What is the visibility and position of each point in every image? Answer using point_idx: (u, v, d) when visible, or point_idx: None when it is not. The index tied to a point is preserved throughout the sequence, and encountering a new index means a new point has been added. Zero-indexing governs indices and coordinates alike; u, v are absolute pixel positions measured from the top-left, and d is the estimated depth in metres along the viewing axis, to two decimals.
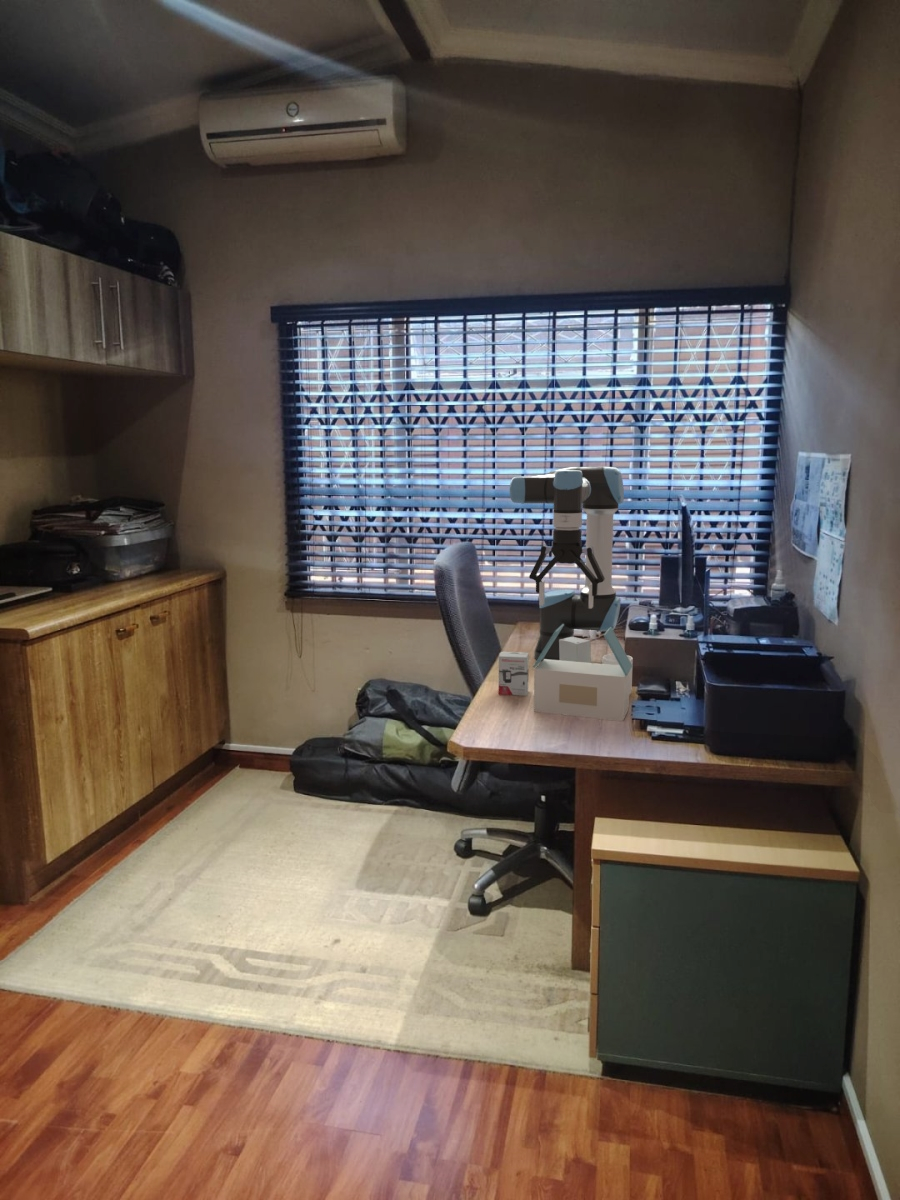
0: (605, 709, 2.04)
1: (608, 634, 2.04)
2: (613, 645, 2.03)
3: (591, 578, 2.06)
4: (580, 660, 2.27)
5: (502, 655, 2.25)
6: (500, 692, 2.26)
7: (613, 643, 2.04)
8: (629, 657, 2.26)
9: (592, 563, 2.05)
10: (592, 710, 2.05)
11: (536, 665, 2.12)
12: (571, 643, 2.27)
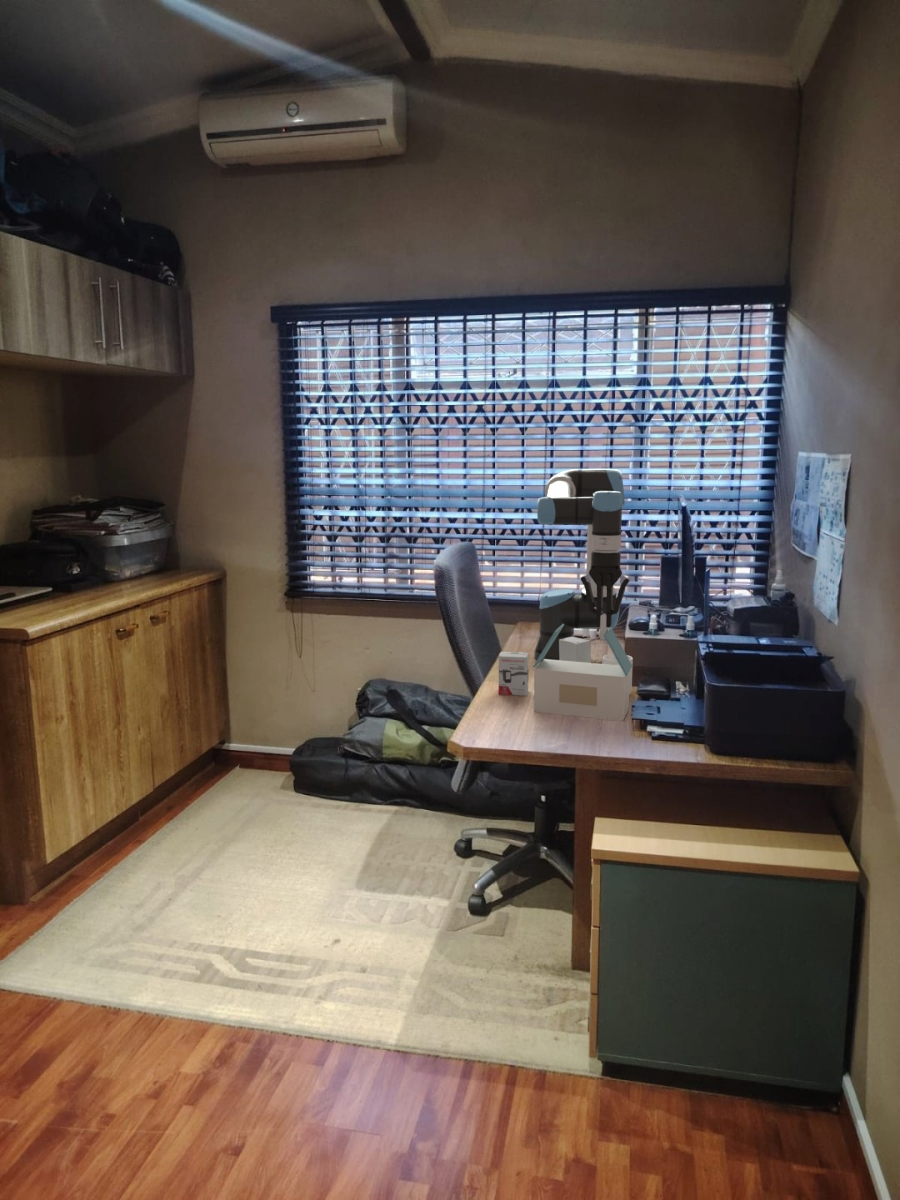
0: (605, 709, 2.04)
1: (608, 634, 2.04)
2: (613, 645, 2.03)
3: (608, 609, 2.03)
4: (580, 660, 2.27)
5: (502, 655, 2.25)
6: (500, 692, 2.26)
7: (613, 643, 2.04)
8: (629, 657, 2.26)
9: (619, 593, 2.01)
10: (592, 710, 2.05)
11: (536, 665, 2.12)
12: (571, 643, 2.27)
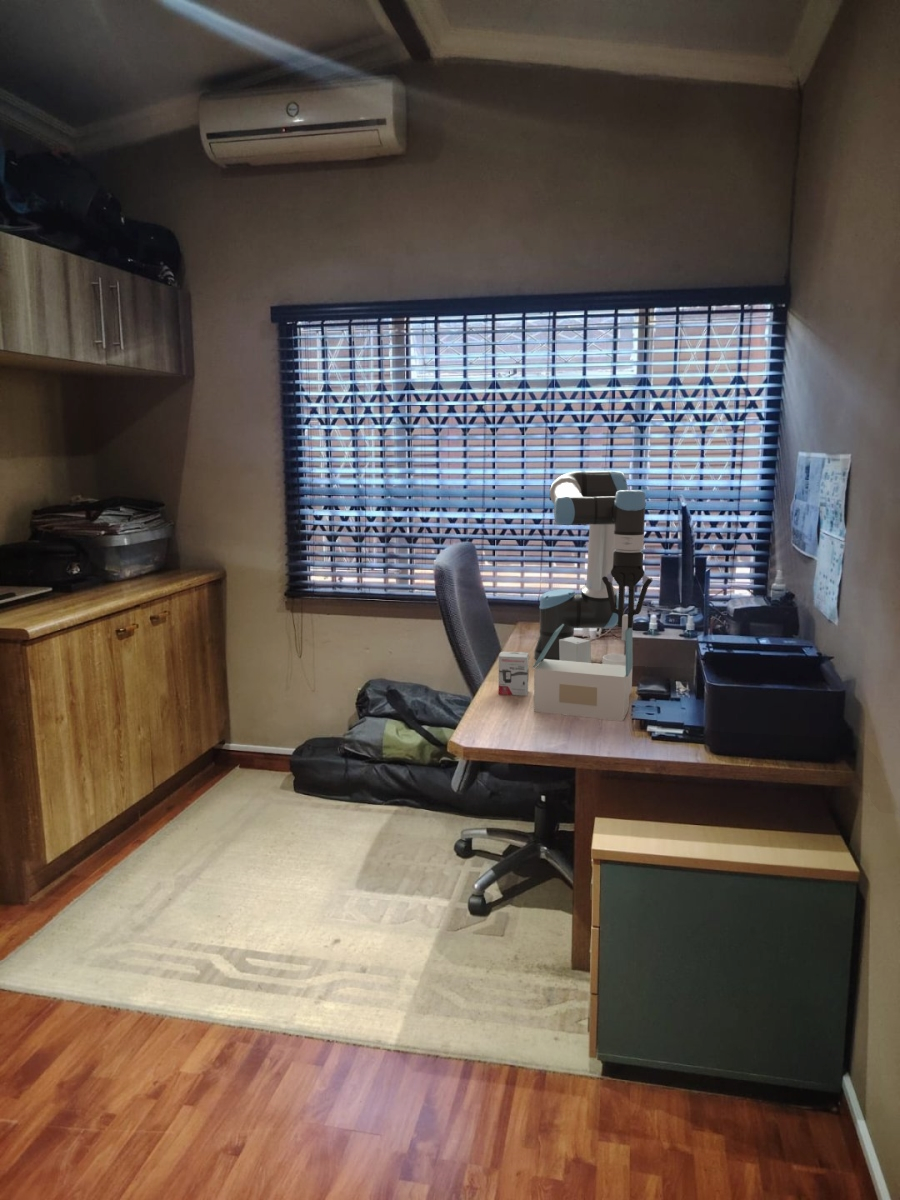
0: (605, 709, 2.04)
1: (629, 631, 2.02)
2: (628, 643, 2.01)
3: (630, 609, 2.01)
4: (580, 660, 2.27)
5: (502, 655, 2.25)
6: (500, 692, 2.26)
7: (629, 641, 2.02)
8: None
9: (642, 593, 1.99)
10: (592, 710, 2.05)
11: (536, 665, 2.12)
12: (571, 643, 2.27)
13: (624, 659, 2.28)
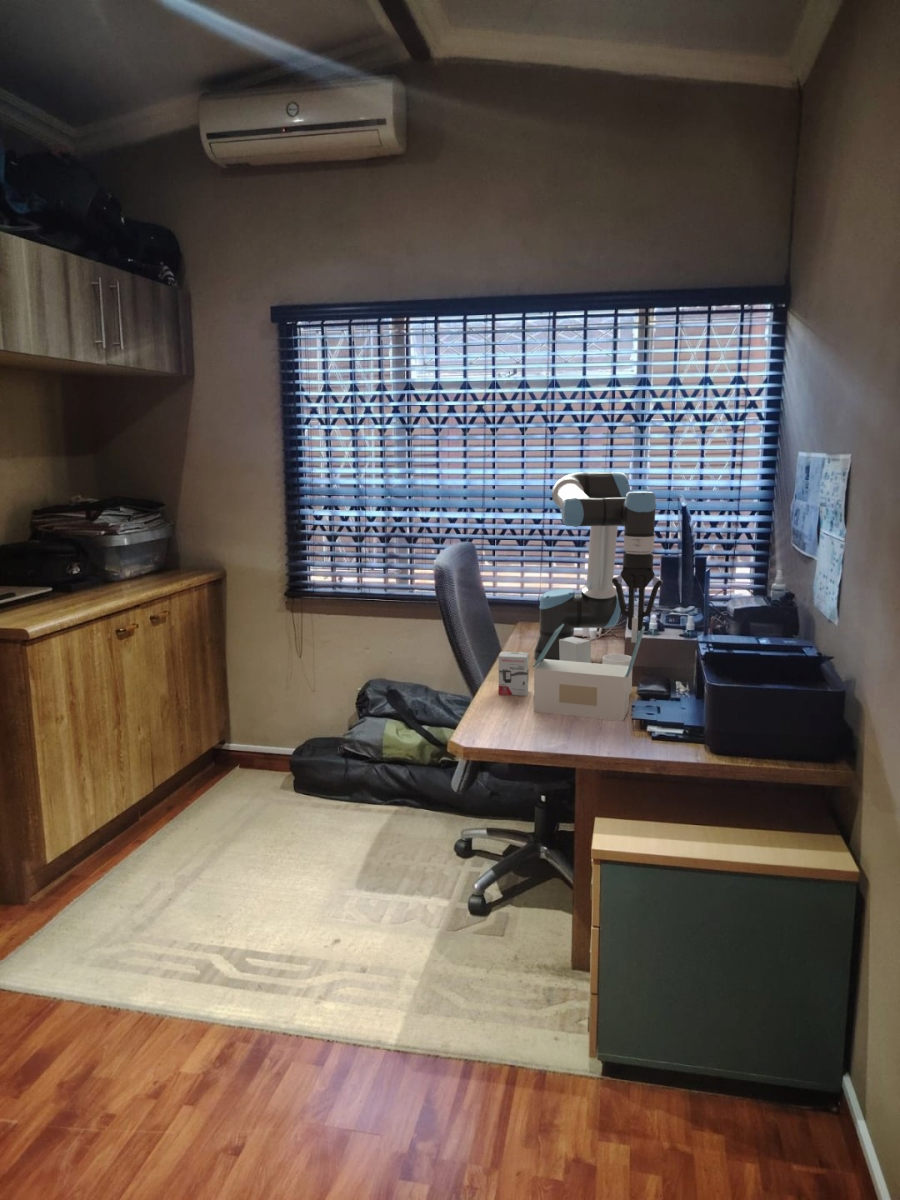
0: (605, 709, 2.04)
1: (641, 634, 2.01)
2: (637, 646, 2.01)
3: (640, 611, 2.00)
4: (580, 660, 2.27)
5: (502, 655, 2.25)
6: (500, 692, 2.26)
7: (638, 644, 2.01)
8: (629, 657, 2.26)
9: (652, 595, 1.98)
10: (592, 710, 2.05)
11: (536, 665, 2.12)
12: (571, 643, 2.27)
13: (624, 659, 2.28)
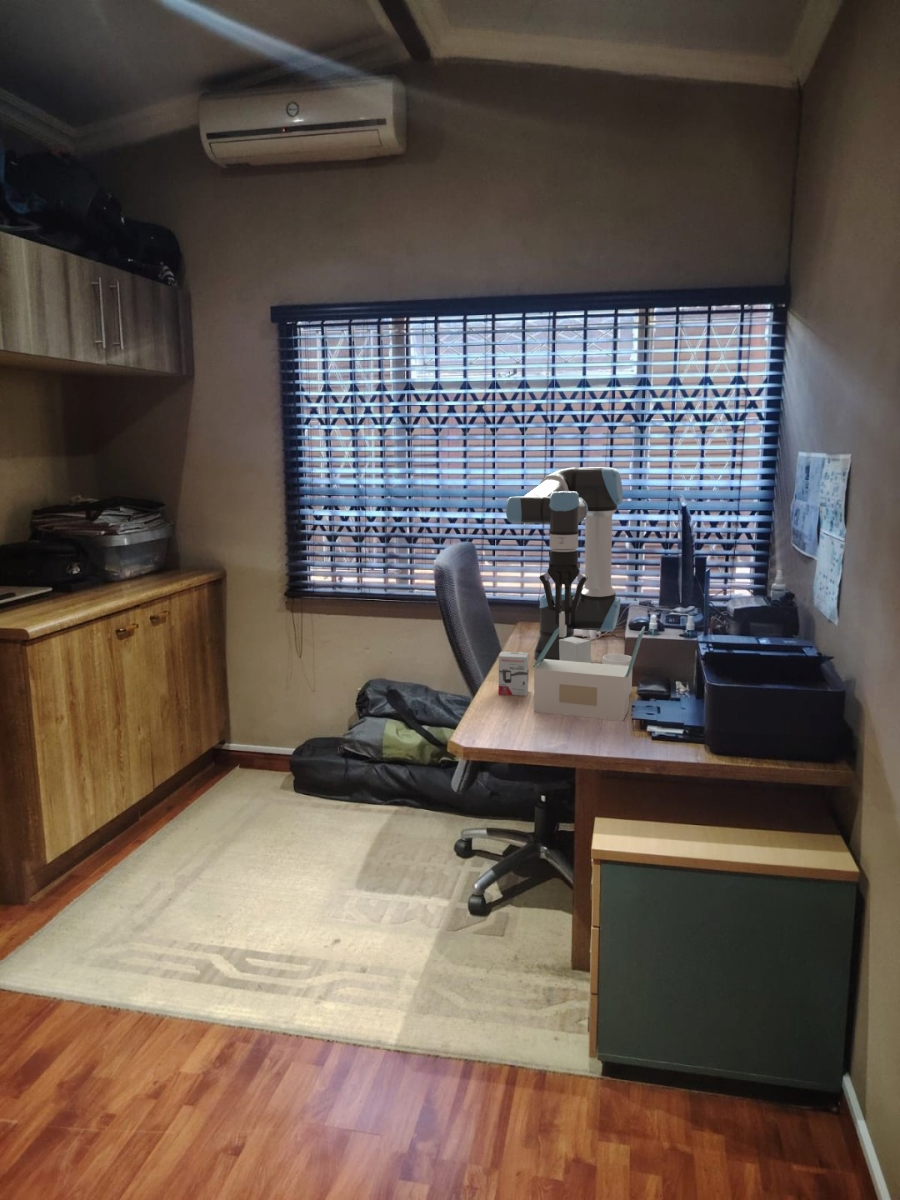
0: (605, 709, 2.04)
1: (641, 634, 2.01)
2: (637, 646, 2.01)
3: (567, 606, 2.07)
4: (580, 660, 2.27)
5: (502, 655, 2.25)
6: (500, 692, 2.26)
7: (638, 644, 2.01)
8: (629, 657, 2.26)
9: (577, 591, 2.05)
10: (592, 710, 2.05)
11: (536, 665, 2.12)
12: (571, 643, 2.27)
13: (624, 659, 2.28)
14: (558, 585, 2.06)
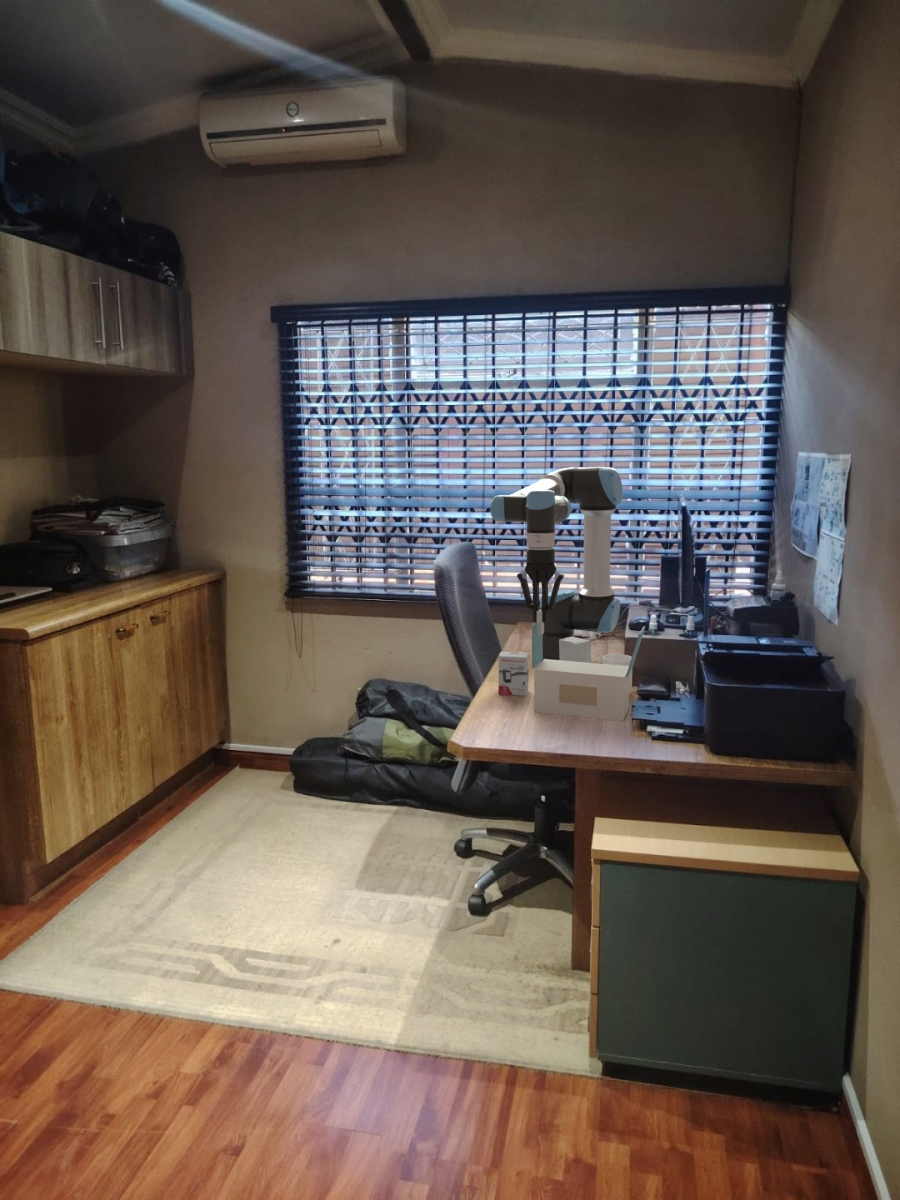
0: (605, 709, 2.04)
1: (641, 634, 2.01)
2: (637, 646, 2.01)
3: (544, 604, 2.09)
4: (580, 660, 2.27)
5: (502, 655, 2.25)
6: (500, 692, 2.26)
7: (638, 644, 2.01)
8: (629, 657, 2.26)
9: (554, 589, 2.07)
10: (592, 710, 2.05)
11: (536, 665, 2.12)
12: (571, 643, 2.27)
13: (624, 659, 2.28)
14: (535, 583, 2.08)
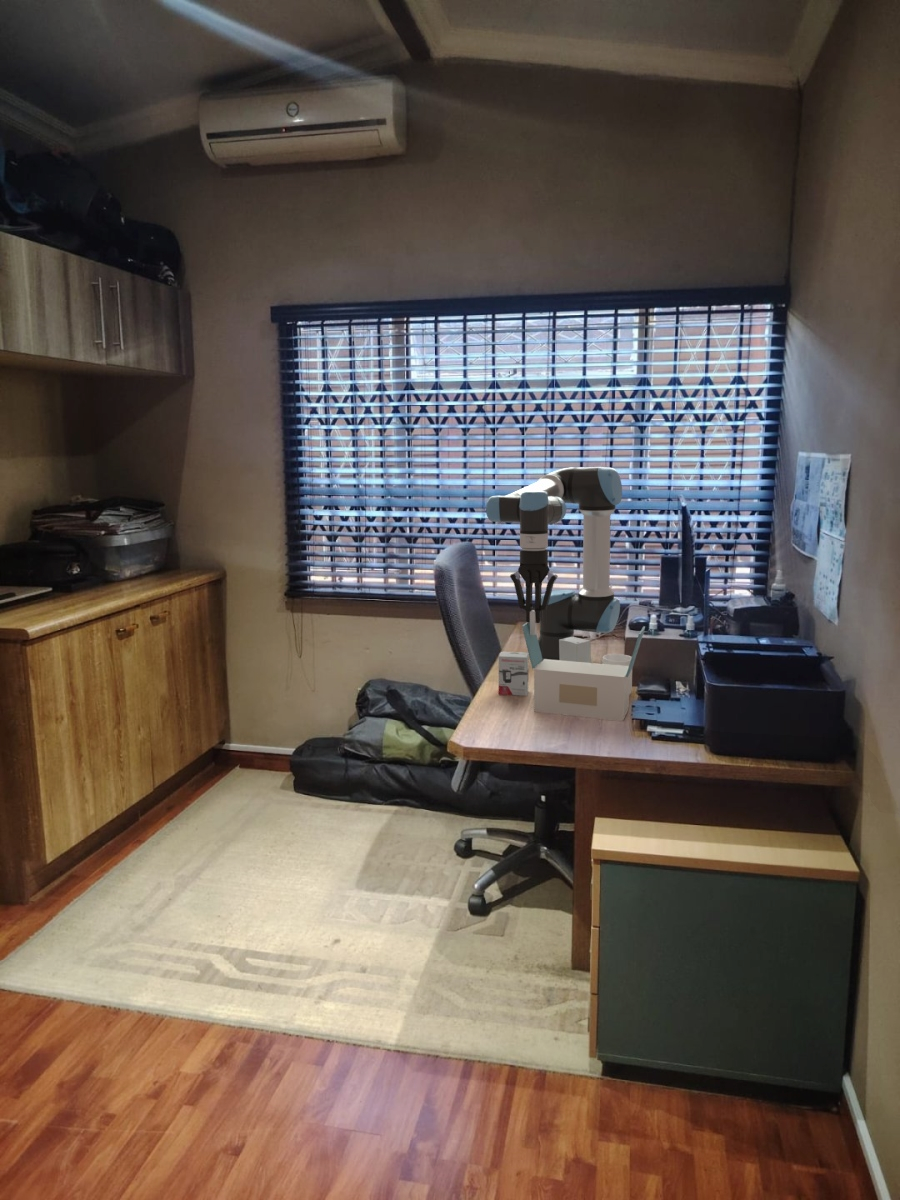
0: (605, 709, 2.04)
1: (641, 634, 2.01)
2: (637, 646, 2.01)
3: (537, 605, 2.10)
4: (580, 660, 2.27)
5: (502, 655, 2.25)
6: (500, 692, 2.26)
7: (638, 644, 2.01)
8: (629, 657, 2.26)
9: (547, 590, 2.08)
10: (592, 710, 2.05)
11: None
12: (571, 643, 2.27)
13: (624, 659, 2.28)
14: (528, 584, 2.09)
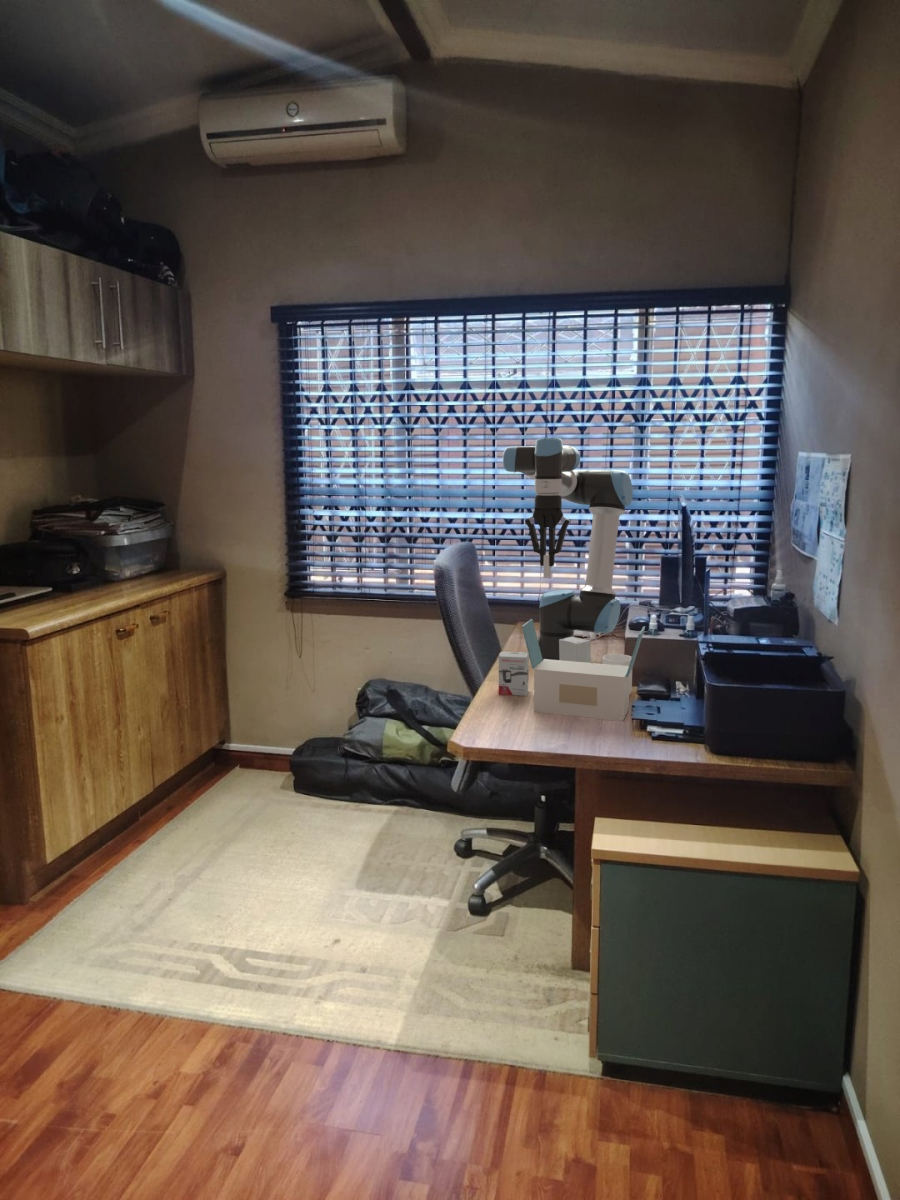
0: (605, 709, 2.04)
1: (641, 634, 2.01)
2: (637, 646, 2.01)
3: (551, 548, 2.18)
4: (580, 660, 2.27)
5: (502, 655, 2.25)
6: (500, 692, 2.26)
7: (638, 644, 2.01)
8: (629, 657, 2.26)
9: (561, 533, 2.16)
10: (592, 710, 2.05)
11: None
12: (571, 643, 2.27)
13: (624, 659, 2.28)
14: (542, 528, 2.17)
